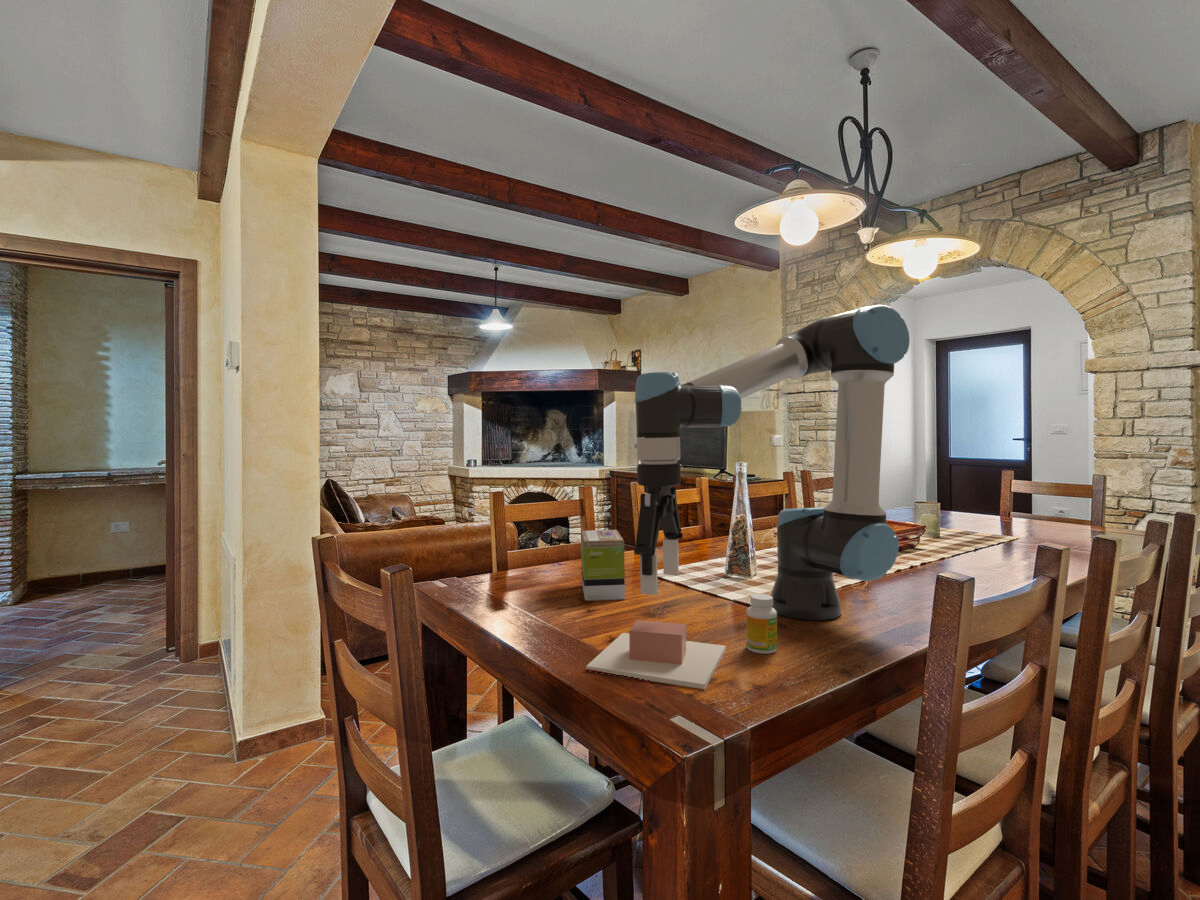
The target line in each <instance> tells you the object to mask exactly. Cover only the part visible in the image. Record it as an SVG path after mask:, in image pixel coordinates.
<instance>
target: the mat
mask: <svg viewBox="0 0 1200 900" xmlns="http://www.w3.org/2000/svg"><path fill="white" fill-rule="evenodd" d="M726 651H727V646H726V645H723V644H722V645H721V644H713V643H708V642H707V643H706V642H698V641H692V640H691V641H689V640H686V654H685V657H684V660H683V663H682V665H681V664H671V663H661V662H650V661H640V660H630V649H629V632H622V633H621V634H619V636H618V637H616V638H615V639H614V640H613V641H611V643H610V644H609V645H608V646H607V647H605V648H604V649H603V650H602V651H601V652H600V653H599V654H597V656H596V657H595V658H593V660H591V661H590V662H589V663H588V664H587V665H586V669H591V670H597V671H602V672H607V673H612V674H616V675H624V676H628V677H627V678H629V677H634V678H633V679H635V678H639V679H638V680H642V679H644V680H643V681H648V680H649V681H650V682H655V683H660V684H662V683H663V684H669V685H674V686H680V687H687V688H694V689H700V690H706V688H707V687H708V685H709V682H710V681H711V679H712V677H713V675H714V673H715V671H716V670H717V667H718V666H719V664H720V662H721V660H722V658H723V657H724V654H725V653H726ZM616 675H615V676H616Z"/></svg>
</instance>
